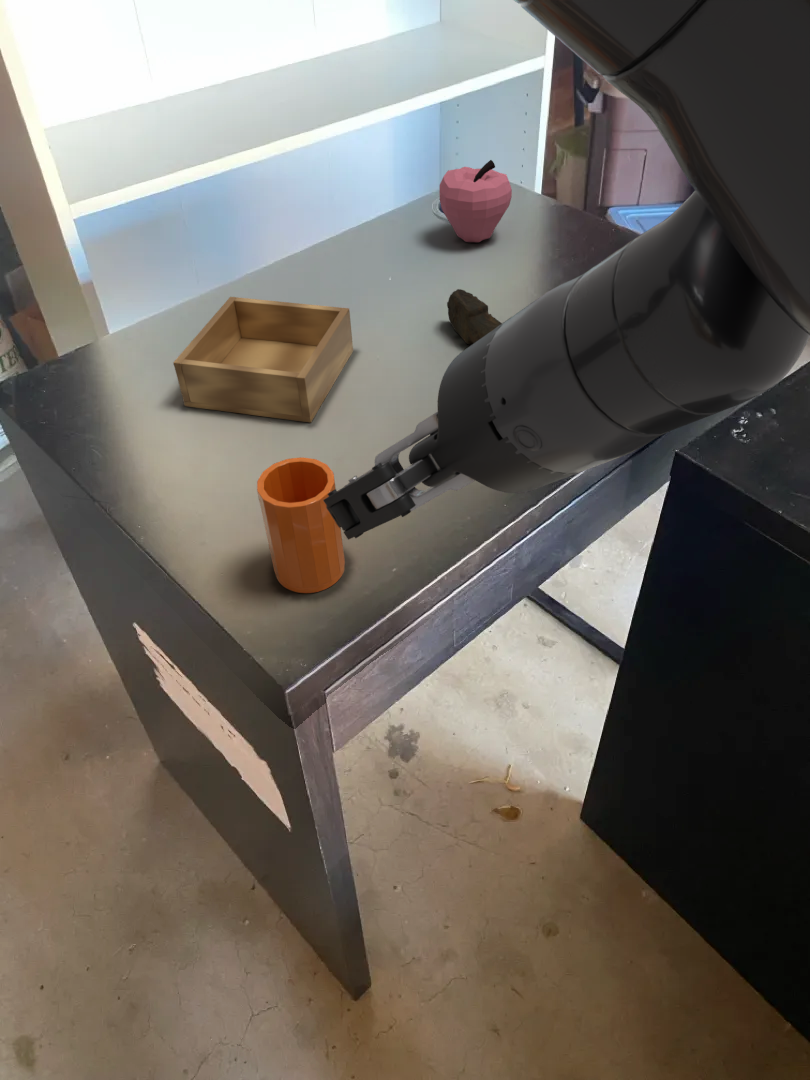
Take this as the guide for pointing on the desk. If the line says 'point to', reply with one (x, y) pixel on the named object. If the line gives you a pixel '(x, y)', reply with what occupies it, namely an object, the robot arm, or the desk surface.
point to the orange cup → (301, 524)
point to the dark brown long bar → (470, 316)
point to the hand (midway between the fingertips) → (391, 477)
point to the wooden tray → (266, 358)
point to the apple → (475, 200)
